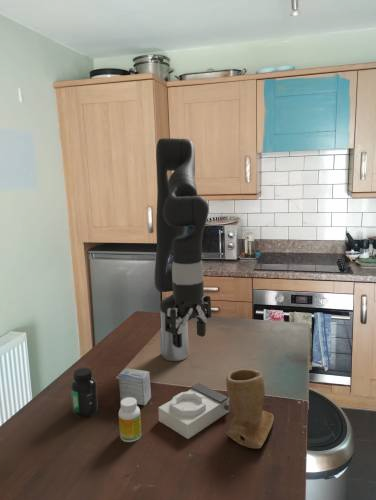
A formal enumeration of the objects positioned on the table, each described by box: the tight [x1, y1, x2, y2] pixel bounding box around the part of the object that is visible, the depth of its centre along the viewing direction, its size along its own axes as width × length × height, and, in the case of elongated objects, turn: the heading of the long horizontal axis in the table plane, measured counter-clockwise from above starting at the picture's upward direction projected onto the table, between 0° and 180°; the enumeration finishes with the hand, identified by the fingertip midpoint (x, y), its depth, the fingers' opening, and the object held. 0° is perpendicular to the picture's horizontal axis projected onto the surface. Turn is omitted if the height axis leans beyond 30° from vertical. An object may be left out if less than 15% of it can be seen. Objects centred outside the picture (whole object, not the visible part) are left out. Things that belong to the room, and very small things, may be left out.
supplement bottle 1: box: [70, 367, 99, 418], centre depth 118 cm, size 7×7×12 cm
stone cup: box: [225, 368, 275, 450], centre depth 107 cm, size 15×12×15 cm
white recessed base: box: [157, 382, 231, 440], centre depth 114 cm, size 16×12×6 cm
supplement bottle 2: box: [118, 397, 142, 443], centre depth 107 cm, size 5×5×10 cm
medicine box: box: [118, 367, 152, 406], centre depth 123 cm, size 8×4×9 cm, turn 71°
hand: (189, 341), depth 107 cm, fingers open, 8 cm apart
